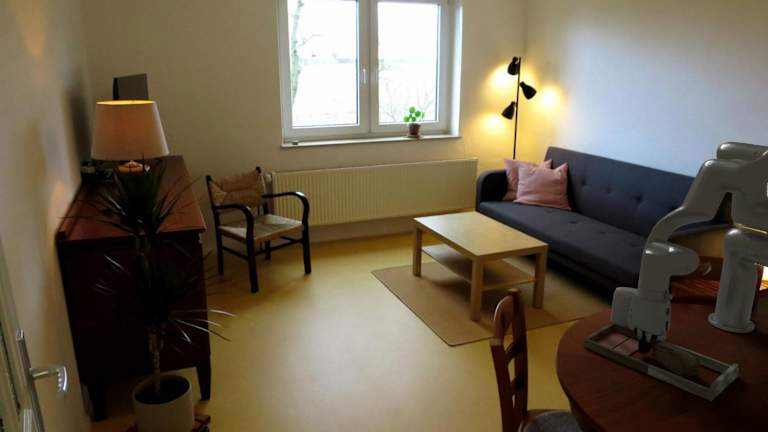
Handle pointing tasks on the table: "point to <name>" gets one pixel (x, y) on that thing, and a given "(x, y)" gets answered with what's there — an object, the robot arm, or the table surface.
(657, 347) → the stone block
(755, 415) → the table surface
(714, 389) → the frame
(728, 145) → the robot arm
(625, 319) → the photo printer
